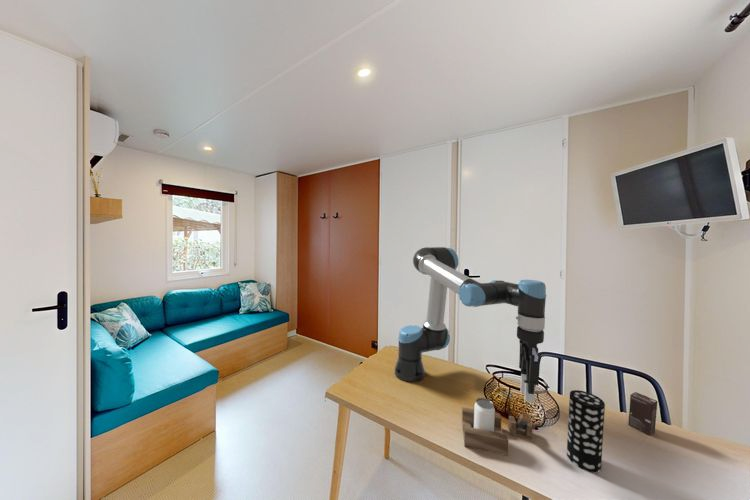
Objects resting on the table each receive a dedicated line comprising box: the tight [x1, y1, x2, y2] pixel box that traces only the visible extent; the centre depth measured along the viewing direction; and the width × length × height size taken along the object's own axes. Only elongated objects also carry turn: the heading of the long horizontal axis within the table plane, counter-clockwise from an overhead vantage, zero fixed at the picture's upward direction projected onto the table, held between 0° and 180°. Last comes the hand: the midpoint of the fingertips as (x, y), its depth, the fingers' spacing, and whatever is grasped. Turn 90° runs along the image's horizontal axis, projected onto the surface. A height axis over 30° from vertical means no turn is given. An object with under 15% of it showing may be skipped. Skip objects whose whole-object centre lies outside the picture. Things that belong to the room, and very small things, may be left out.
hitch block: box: [461, 406, 533, 457], centre depth 87 cm, size 14×23×5 cm, turn 75°
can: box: [473, 397, 496, 432], centre depth 88 cm, size 6×6×12 cm
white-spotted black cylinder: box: [566, 389, 606, 473], centre depth 79 cm, size 8×8×20 cm
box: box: [627, 391, 658, 437], centre depth 93 cm, size 6×4×12 cm
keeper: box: [516, 412, 532, 430], centre depth 87 cm, size 11×3×2 cm
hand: (527, 397), depth 84 cm, fingers open, 4 cm apart
